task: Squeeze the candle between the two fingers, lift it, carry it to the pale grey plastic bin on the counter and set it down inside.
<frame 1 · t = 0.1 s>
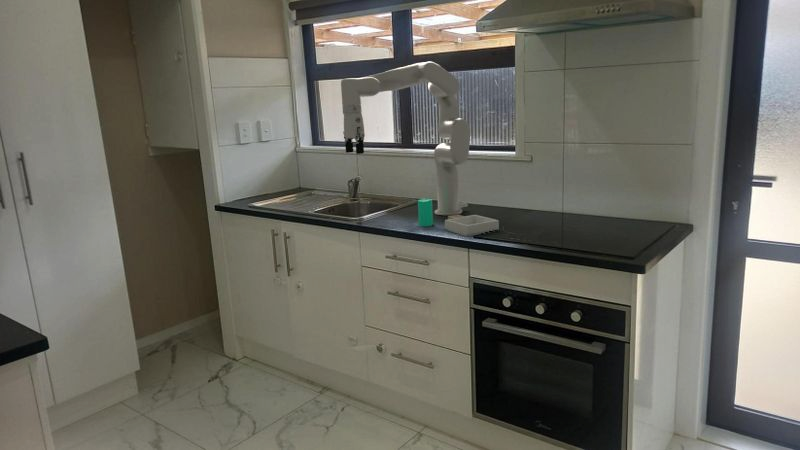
hand: (354, 152, 238), 31 cm above the countertop, fingers open, 9 cm apart
candle: (425, 225, 244), on the countertop
oak block: (456, 225, 239), on the countertop
bin: (471, 230, 230), on the countertop
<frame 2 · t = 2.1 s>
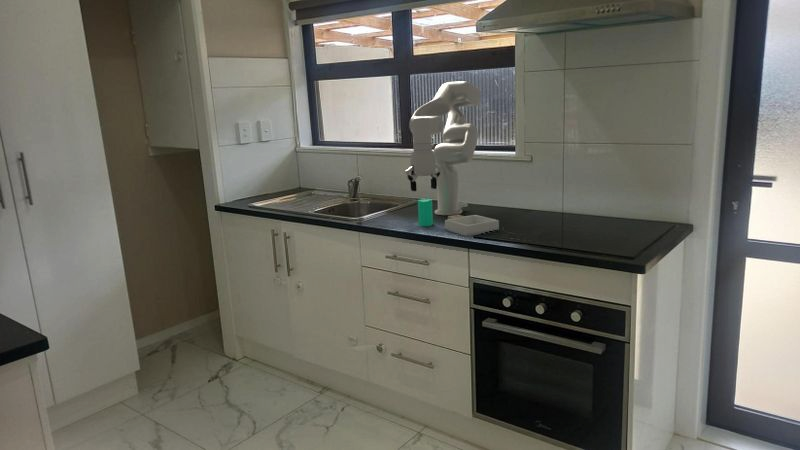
hand: (423, 189, 240), 15 cm above the countertop, fingers open, 9 cm apart
nothing on the countertop moved.
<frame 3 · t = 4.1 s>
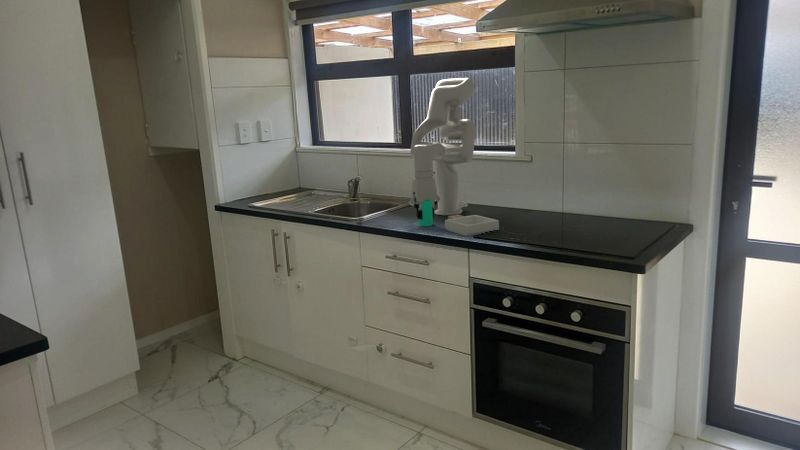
hand: (425, 217, 243), 3 cm above the countertop, fingers closed on candle, 4 cm apart
candle: (425, 225, 244), on the countertop, touching gripper
everything else where it was.
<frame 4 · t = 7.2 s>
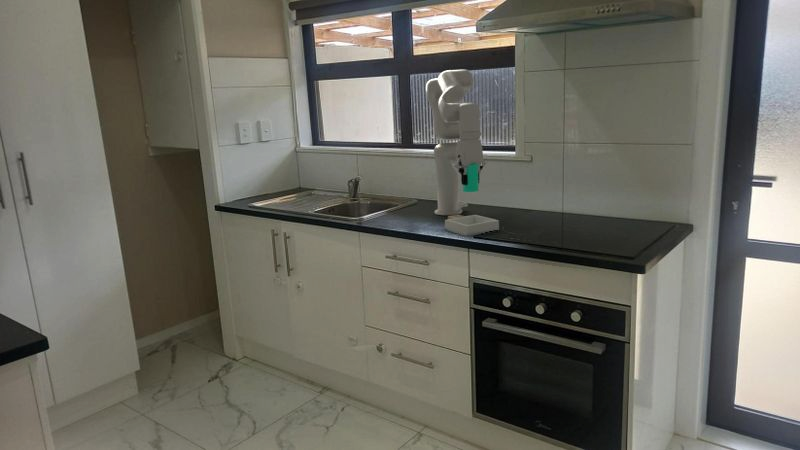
hand: (470, 183, 226), 18 cm above the countertop, fingers closed on candle, 4 cm apart
candle: (470, 191, 226), point 15 cm above the countertop, touching gripper
everything else where it was.
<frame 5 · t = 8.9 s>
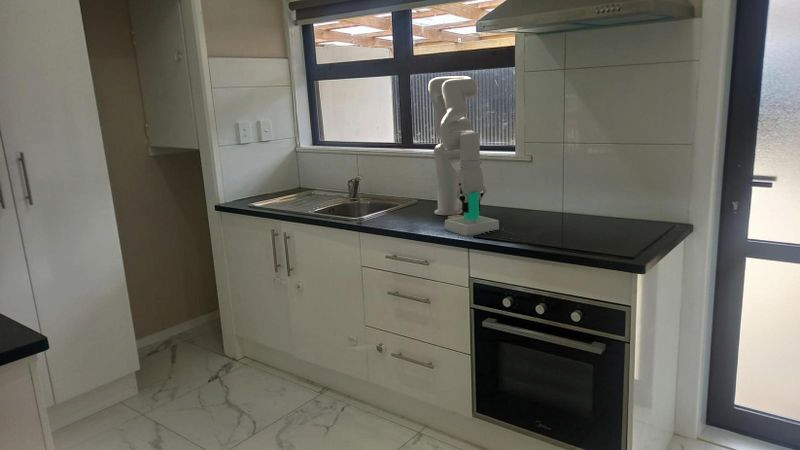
hand: (471, 210, 228), 8 cm above the countertop, fingers closed on candle, 4 cm apart
candle: (471, 218, 229), point 5 cm above the countertop, touching gripper
everything else where it was.
when the fingers open (5 cm above the countertop, at t = 10.2 s): candle drops 1 cm, resting on bin.
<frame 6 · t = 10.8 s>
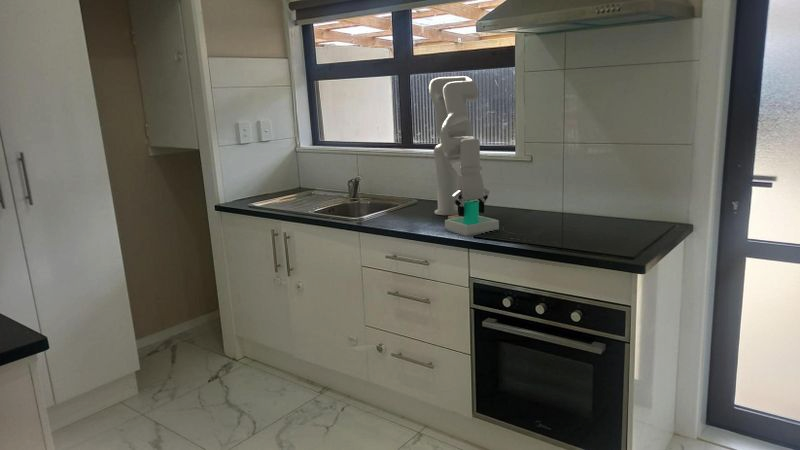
hand: (471, 214, 228), 6 cm above the countertop, fingers open, 9 cm apart
candle: (471, 228, 230), point 1 cm above the countertop, touching bin
everything else where it was.
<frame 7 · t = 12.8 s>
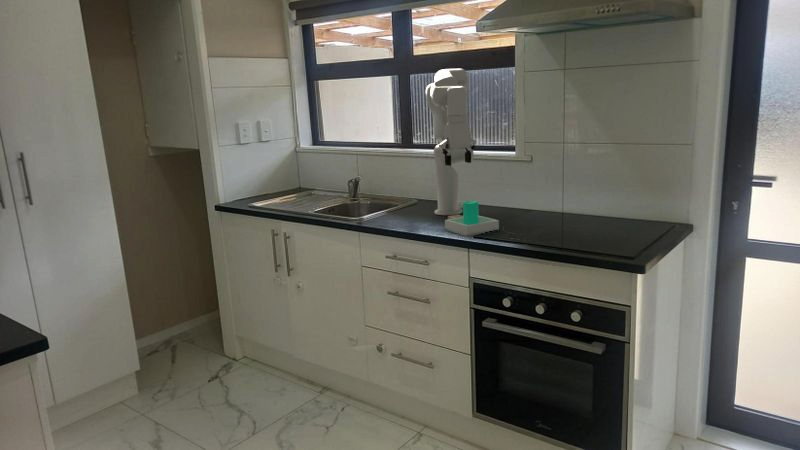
hand: (458, 163, 230), 26 cm above the countertop, fingers open, 9 cm apart
nothing on the countertop moved.
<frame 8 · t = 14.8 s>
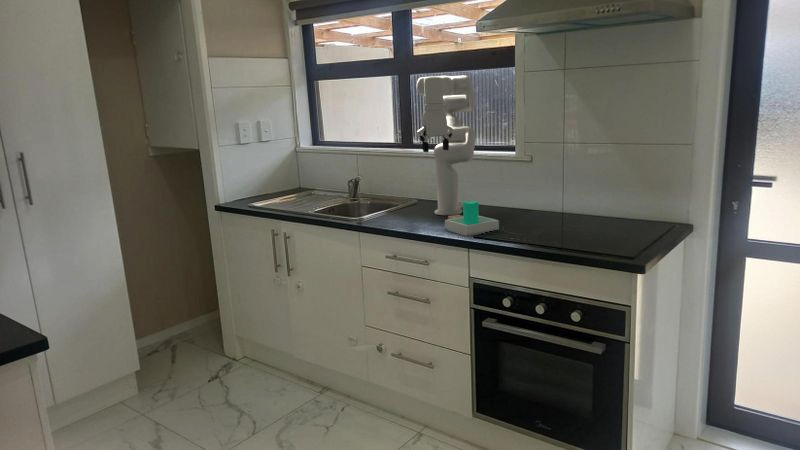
hand: (435, 150, 238), 30 cm above the countertop, fingers open, 9 cm apart
nothing on the countertop moved.
at the end: candle inside the target area on the bin (0.2 cm from its centre), point 0.6 cm above the bin's base; candle tilted 0°; the gripper is holding nothing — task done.
